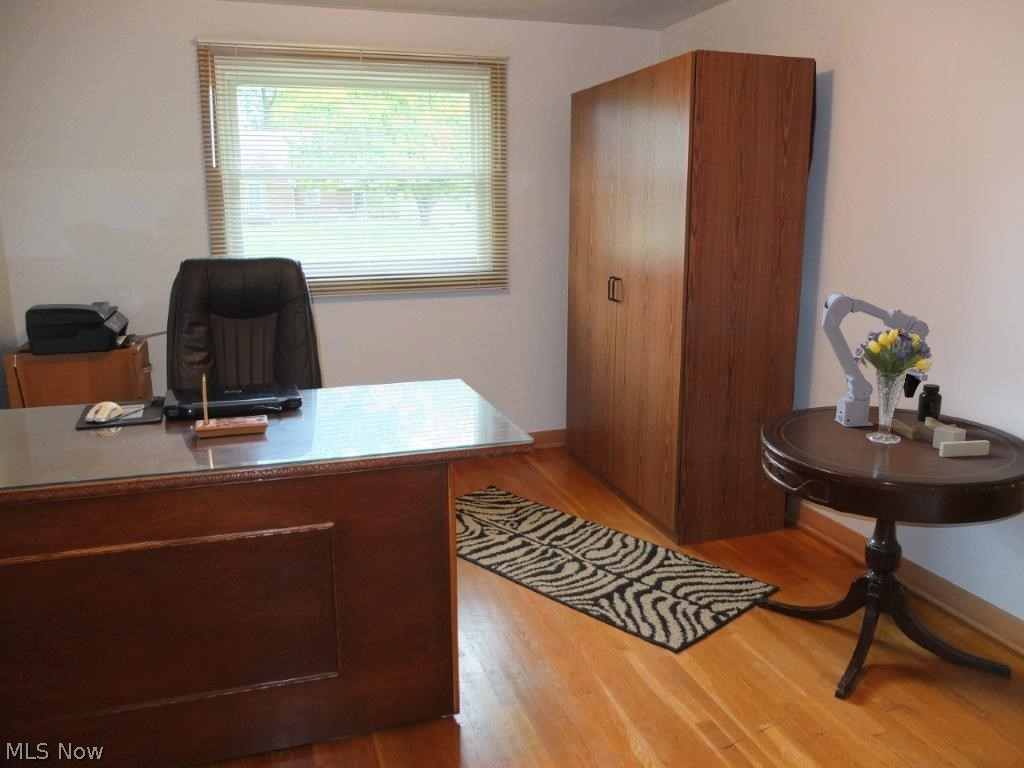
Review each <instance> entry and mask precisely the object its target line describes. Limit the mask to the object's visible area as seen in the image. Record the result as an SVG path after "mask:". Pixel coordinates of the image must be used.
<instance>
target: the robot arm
mask: <svg viewBox="0 0 1024 768" xmlns="http://www.w3.org/2000/svg"><path fill="white" fill-rule="evenodd" d="M902 311H903V310H901V309H899V308H896V309H894V308H891V309H888V310H886V309H883V308H881V307H879V306H876V305H875V304H872V303H869V302H867V301H865V300H863V299H861V298H859V297H856V296H855V297H854V296H851V295H849V294H845V295H844V294H843V293H840V292H833V293H831V294H830V295H828V297H827V298H826V299H825V301H824V303H823V311H822V318H821V325H820V326H821V328H822V330H823V332H824V334H825V336H826V338H827V342H829V344H830V346H831V349H832V351H833V353H834V355H835V357H836V359H837V361H838V363H839V366H841V369H842V372H843V375H844V377H845V384H846V385H845V386H846V389H847V390H848V391H847V393H846V396H844V397H840V398H839V399H838V400H837V403H836V413H835V414H836V415H835V418H834V421H835V422H837V423H839V424H840V425H842V426H843V427H847V428H849V427H850V428H851V427H870V426H871V427H872V426H874V424H873V423H872V422H870V421H869V416H870V415H869V414H870V403H871V395H872V394H873V391H874V388H873V385H872V384H871V383H870V381H868V380H866V377H865V376H864V374H863V373H862V370H860V367H859V366H858V364H857V362H856V363H855V362H854V359H855V358H854V355H853V353H852V351H851V349H850V347H849V345H848V342H847V340H846V339H845V336H844V334H843V332H842V330H841V328H840V325H841V323H842V322H843V320H844V318H846V317H847V316H848V315H849V314H850V313H852V314H856V313H859V312H861V313H863V314H866V315H868V316H872V317H874V318H877V319H880V320H882V323H883V326H886V327H888V328H891V329H893V330H895V328H898V327H902V328H903V329H904V330H905V331H906V332H908V333H910V334H917V335H919V337H920V339H921V340H922V341H923V342H925V343H926V338H927V337H928V336H929V334H930V332H931V331H930V329H929V326H928V324H927V323H926V322H925V321H923V320H921V319H919V318H918V317H916V316H915V315H913V314H912V315H908V314H907V313H904V312H902ZM928 378H929V374H927V373H926V372H920V371H917V370H916V369H910V370H908V371H907V374H906V378H905V383H904V386H903V385H902V389H903V394H904V397H905V398H906V399H911V398H912V399H913V398H914V396H915V393H916V391H917V388H918V387H919V386H920V384H921V383H922V382H927V381H928V380H929V379H928Z"/></svg>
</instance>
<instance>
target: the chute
mask: <svg viewBox="0 0 1024 768" xmlns="http://www.w3.org/2000/svg"><path fill="white" fill-rule="evenodd" d="M891 419H892V426H891V428H892V430H893V431H895V432H897V433H899V434H900V433H901V434H900V435H902V434H903V435H902V436H904V437H906V438H908V439H909V438H910V439H909V440H911V441H913V442H919V441H920V431H921V427H920V426H918V425H912V426H910V425H908V424H906V423H905V422H902V421H900V420H898V419H897V418H891ZM946 425H947V424H946V423H943V422H941V421H940V420H939V421H937V420H935V419H933V418H931V417H926V420H925V422H924V426H925V427H926V428H928V429H930V430H932V431H934V430H935V428H937V427H942V426H946ZM949 426H953V427H956V428H958V425H957V424H956V423H953V424H951V423H950V424H949ZM891 428H890V429H891Z"/></svg>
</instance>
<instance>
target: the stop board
mask: <svg viewBox="0 0 1024 768" xmlns="http://www.w3.org/2000/svg"><path fill="white" fill-rule="evenodd" d="M990 445H991V441H990V440H986V439H984V440H965V441H957V442H941V443H940V449H939V451H938V456H940V457H941V458H948V457H951V458H952V457H968V456H969V457H970V456H988V455H989V452H990Z"/></svg>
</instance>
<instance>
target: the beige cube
mask: <svg viewBox="0 0 1024 768" xmlns="http://www.w3.org/2000/svg"><path fill="white" fill-rule="evenodd" d="M933 431H934V432H933V441H932V448H936V449H939V450H940V443H941V442H957V441H966V435H967V429H963V428H960V427H957V428H956V427H953V426H950V424H946V426H942V427H937V428H935V430H933Z"/></svg>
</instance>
